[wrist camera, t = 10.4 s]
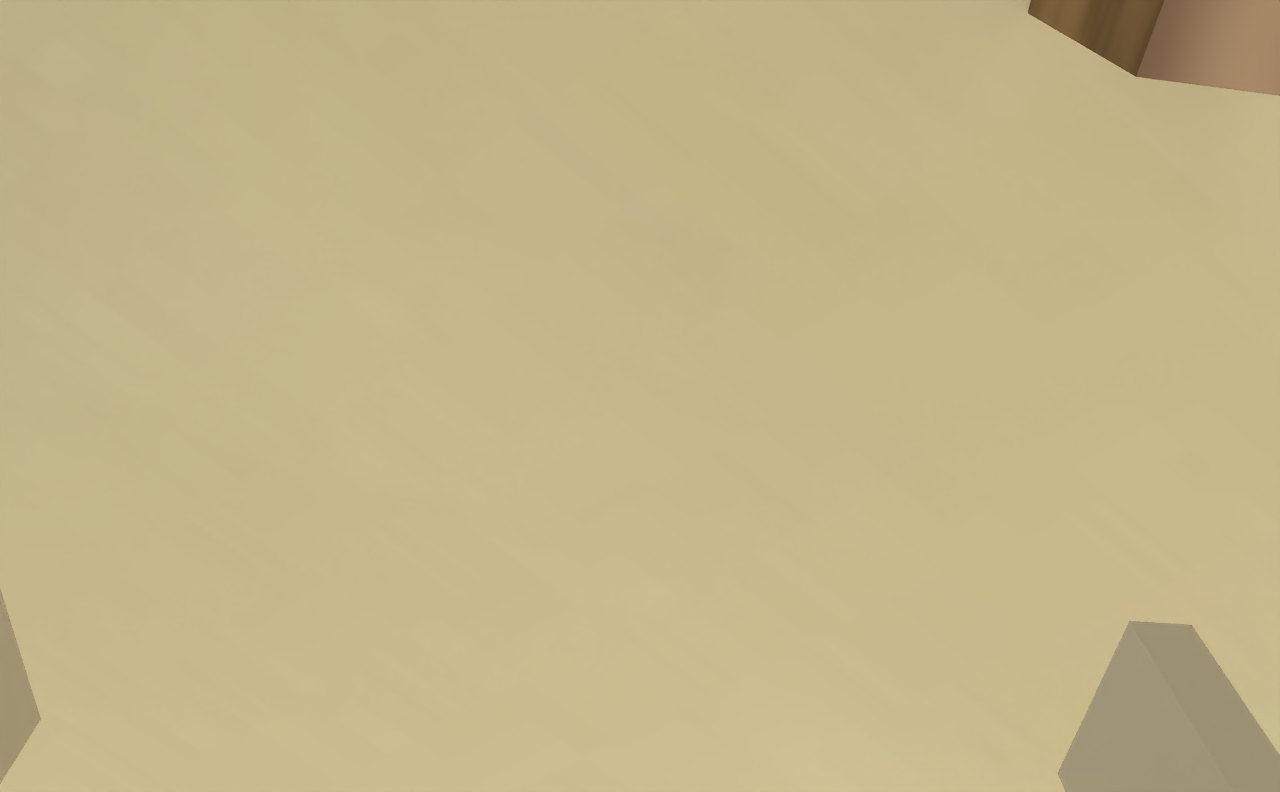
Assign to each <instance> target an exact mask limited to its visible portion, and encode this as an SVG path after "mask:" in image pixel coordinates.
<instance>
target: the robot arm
mask: <svg viewBox="0 0 1280 792" xmlns="http://www.w3.org/2000/svg"><path fill="white" fill-rule="evenodd" d="M40 719H41V718H40V715H39V712H38V708H37V705H36V702H35V699H34V696H33V692H32V689H31V686H30V683H29V680H28V677H27V673H26V670H25V667H24V664H23V661H22V657H21V654H20V651H19V648H18V645H17V641H16V638H15V635H14V632H13V629H12V625H11V622H10V619H9V616H8V613H7V609H6V606H5V603H4V600H3V597H2V593H1V590H0V783H1V782H2V780H3V778H4V777H5V775H6V774H7V772H8V770H9V769H10V767H11V766H12V764H13V762H14V761H15V759H16V758H17V756H18V754H19V753H20V751H21V750H22V748H23V746H24V745H25V743H26V742H27V740H28V739H29V737H30V735H31V734H32V732H33V731H34V729H35V727H36V726H37V724H38V723H39V721H40ZM1058 775H1059V778H1060V780H1061V782H1062V784H1063V787H1064V789H1065V791H1066V792H1280V755H1279V754H1278V752H1277V751H1276V749H1275V748H1274V746H1273V745H1272V743H1271V742H1270V740H1269V739H1268V737H1267V736H1266V734H1265V733H1264V731H1263V730H1262V728H1261V727H1260V726H1259V724H1258V723H1257V721H1256V720H1255V718H1254V717H1253V715H1252V714H1251V712H1250V711H1249V709H1248V708H1247V706H1246V705H1245V703H1244V702H1243V700H1242V699H1241V697H1240V696H1239V694H1238V693H1237V691H1236V690H1235V689H1234V687H1233V686H1232V684H1231V683H1230V681H1229V680H1228V678H1227V677H1226V675H1225V674H1224V672H1223V671H1222V669H1221V668H1220V666H1219V665H1218V663H1217V662H1216V660H1215V659H1214V657H1213V656H1212V654H1211V653H1210V652H1209V650H1208V649H1207V647H1206V646H1205V644H1204V643H1203V641H1202V640H1201V638H1200V637H1199V635H1198V634H1197V632H1196V631H1195V629H1194V628H1193V626H1192V625H1184V624H1168V623H1152V622H1136V621H1129V623H1128V625H1127V628H1126V630H1125V632H1124V634H1123V636H1122V638H1121V640H1120V642H1119V645H1118V647H1117V649H1116V651H1115V653H1114V655H1113V657H1112V659H1111V661H1110V664H1109V666H1108V668H1107V670H1106V672H1105V674H1104V676H1103V678H1102V681H1101V683H1100V685H1099V687H1098V689H1097V691H1096V693H1095V695H1094V697H1093V700H1092V702H1091V704H1090V706H1089V708H1088V710H1087V712H1086V714H1085V717H1084V719H1083V721H1082V723H1081V725H1080V727H1079V729H1078V731H1077V733H1076V736H1075V738H1074V740H1073V742H1072V744H1071V746H1070V748H1069V750H1068V753H1067V755H1066V757H1065V759H1064V761H1063V763H1062V765H1061V767H1060V769H1059V772H1058Z"/></svg>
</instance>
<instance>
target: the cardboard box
mask: <svg viewBox="0 0 1280 792" xmlns="http://www.w3.org/2000/svg"><path fill="white" fill-rule="evenodd" d="M1028 13H1029V14H1030V15H1032V16H1034V17H1035V18H1037V19H1039V20H1041V21H1042V22H1044V23H1046V24H1047V25H1049V26H1051V27H1052V28H1054V29H1056V30H1058V31H1059V32H1061V33H1063V34H1064V35H1066V36H1068V37H1069V38H1071V39H1073V40H1075V41H1076V42H1078V43H1080V44H1081V45H1083V46H1085V47H1086V48H1088V49H1090V50H1092V51H1093V52H1095V53H1097V54H1098V55H1100V56H1102V57H1104V58H1105V59H1107V60H1109V61H1110V62H1112V63H1114V64H1115V65H1117V66H1119V67H1121V68H1122V69H1124V70H1126V71H1127V72H1129V73H1131V74H1132V75H1134V76H1136V77H1143V78H1150V79H1158V80H1165V81H1173V82H1180V83H1188V84H1196V85H1203V86H1211V87H1218V88H1226V89H1234V90H1241V91H1249V92H1256V93H1264V94H1271V95H1279V96H1280V0H1032V2H1031V5H1030V8H1029V11H1028Z"/></svg>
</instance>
